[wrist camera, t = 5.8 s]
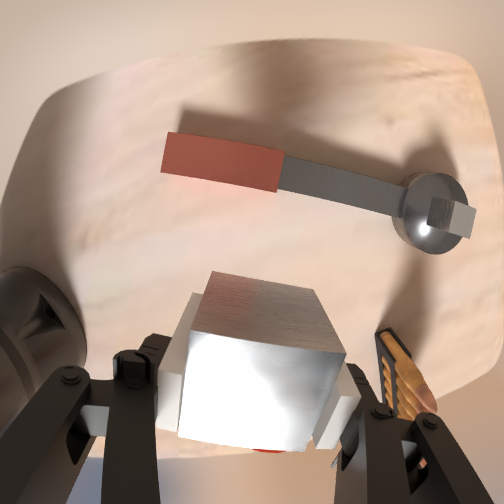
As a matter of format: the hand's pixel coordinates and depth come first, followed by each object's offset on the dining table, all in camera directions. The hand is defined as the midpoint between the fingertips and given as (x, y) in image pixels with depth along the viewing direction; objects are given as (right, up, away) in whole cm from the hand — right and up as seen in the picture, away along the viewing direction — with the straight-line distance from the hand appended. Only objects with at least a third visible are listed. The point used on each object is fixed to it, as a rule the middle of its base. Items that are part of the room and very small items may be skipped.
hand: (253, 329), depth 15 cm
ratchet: (+6, +10, +10) cm, 15 cm away
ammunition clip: (+15, -9, +15) cm, 22 cm away
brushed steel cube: (0, 0, 0) cm, 0 cm away
